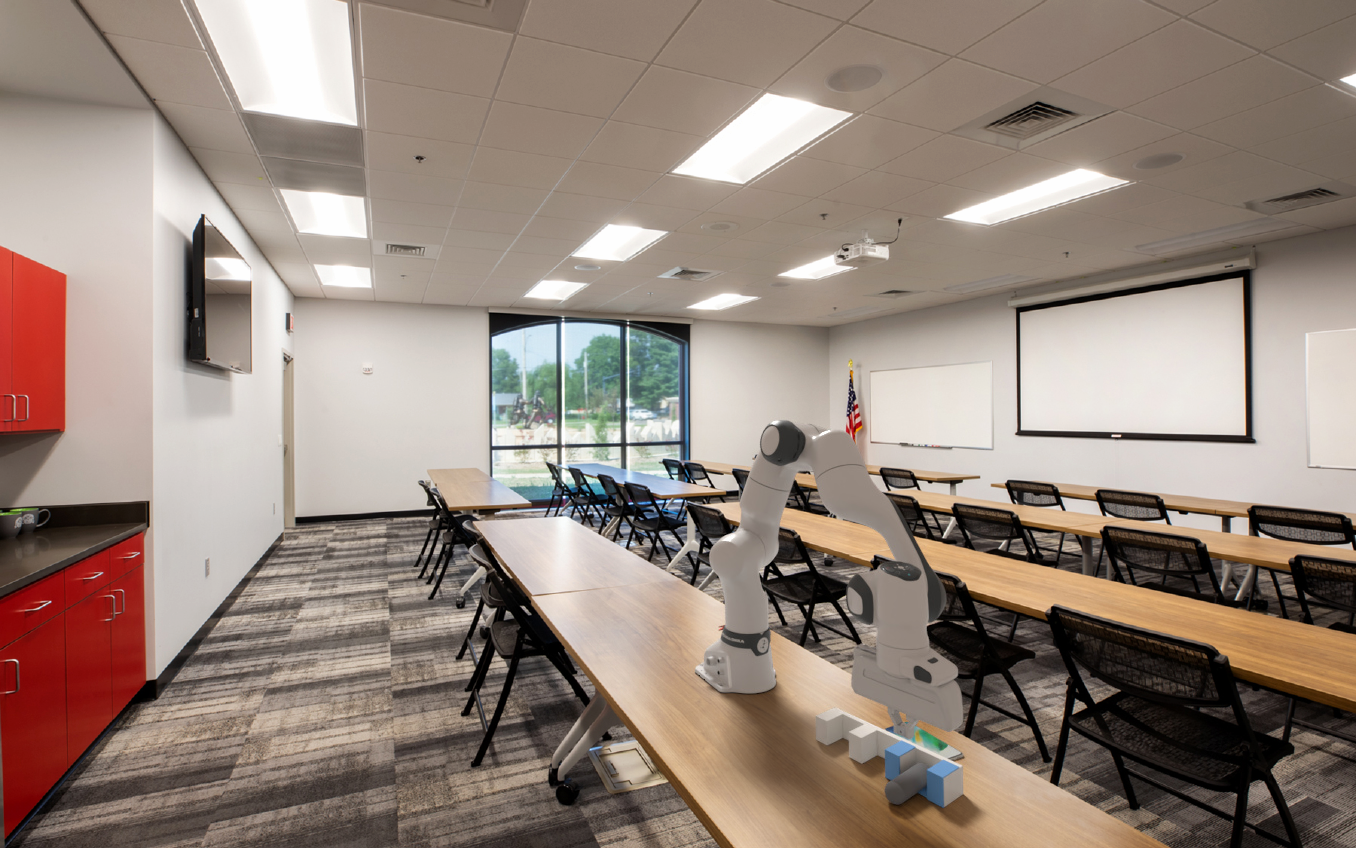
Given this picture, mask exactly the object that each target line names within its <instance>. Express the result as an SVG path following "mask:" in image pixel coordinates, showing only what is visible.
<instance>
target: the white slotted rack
mask: <svg viewBox="0 0 1356 848" xmlns="http://www.w3.org/2000/svg"><path fill="white" fill-rule="evenodd" d="M841 739H844V740H846V741H848V756H849V758H850V759H852V760H854V761H856V762H857V763H859V764H863V763H866V762H868V761H870V760H871V759H873V758H875V757H877V756H879V757H881V758H883V759H884V776H885V778H886V779H887V780H890V781H891V780H893V779H894V778H896V777H897V776H899V775H900V774H902V773H903V772H905V771H906V770H908V769H909V768H911V767H912V766H914V765H915V764H918V763H922V764H925V765H927V766H928V767H929V769H927V786H926V787H925V788H923V789H922V790H920V791H919V792H917V793H916V794H919V795H921V796H923V797H925V798H926V800H928V801H929V802H932V803H933V804H935V805H937V806H939V807H940V808H943V809H944V808H945V807H947V806H948V805H950V804H951V803H953V802H954V801H955V800H957V799H958V798H960V797H961V796H962V795H964V766H963V765H962V764H960V763H959V762H955V760H949V759H947V758H945V757H943V756H941V755H938V754H936V753H934V752H932V751H930V750H927V749H925V748H923V747H921V746H919V745H917V744H914V743H912V742H910V741H908V740H906V739H903V738H901V737H899V736H897V735H895V734H892V733H890V732H888V731H886V730H885V728H881V727H879V726H877V725H875V724H873V723H870V722H868V721H866V720H864V719H862V718H860V717H857V716H855V715H853V714H850V713H848V712H846V711H845V710H842V709H840V708H838V707H832V708H830V709H828V710H826V711H825V710H824V711H823V712H821V713H818V714H817V715H815V740H816V741H818V742H820V743H821V744H823V745H825V746H829V745H832V744H833V743H836V742H838V741H839V740H841Z"/></svg>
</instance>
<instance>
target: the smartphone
mask: <svg viewBox="0 0 1356 848" xmlns="http://www.w3.org/2000/svg"><path fill="white" fill-rule="evenodd" d="M903 722H904V723H906V724H908V722H909V721H903ZM884 730H886V731H888V732H890V733H892V734H895V735H897V736H899V737H901V738H903V739H906V740H908V741H910V742H912V743H914V744H917V745H919V746H921V747H923V748H925V749H927V750H930V751H932V752H934V753H936V754H938V755H941V756H943V757H945V758H947V759H949V760H952V761H956V760H959V759H962V758H964V753H963V752H962V751H961V750H959V749H957V748H955V747H953V746H952V745H950V744H948V743H947V742H945V741H943V740H942V739H940V738H938V737H936V736H935V735H933V734H931V733H929V732H928V731H926V730H924V729H923V728H921V727H919V726H918V725H916V726H915V727H914V737H913V738H911V739H907V738H905V737H903V736H901V735H898V734H896V733H894V725H891V726H887V727H884Z"/></svg>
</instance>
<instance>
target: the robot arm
mask: <svg viewBox="0 0 1356 848" xmlns="http://www.w3.org/2000/svg"><path fill="white" fill-rule="evenodd" d="M759 439H760V441H759V448H760V449H759V450H758V452H757V455H756V457H755V459H754V461H753V463H752V465H751V468H750V470H749V473H748V477H747V478H746V481H745V485H744V488H743V491H742V494H741V496H740V500H739V508H740V512H741V514H740V522H739V526H738V527H737V529H736V531H734V532H731V533H728V534H726V535H724V536H722V537H721V538H720V539H718V540H717V541H716V542H715V543H714V544H713V546H711V548H710V551H709V557H708V559H709V560H708V561H709V565H710V567H711V569H712V570H713V572H714V573H715V574H716V575H717V576H718V578H719V582H720V585H721V588H722V591H723V597H724V621H725V622H724V624H723V625H719V626H718V628H719V629H718V632H720V631H721V635H720V638H718V639H717V640H716V641H714V642H713V643H711V644H710V645H708V647H707V648H706V649H705V651H704V655H703V662H701V663H700V664H697V665H696V666H695V668H694V672H695V673H696V674H697V675H698V676H699V675H700V676H699V677H700V678H702V679H703V680H704V679H705V682H707V683H708V684H709V685H710V686H711V687H713V688H714V689H715V690H717V691H718V692H720V693H738V694H739V693H740V694H757V693H763V692H764V693H765V692H767V691H769V690H772V689H773V688H774V687H775V686H776V685H777V679H776V674H777V673H776V668H774V661H773V654H772V647H771V640H772V639H771V638H772V637H771V635H772V631H771V627H770V625H769V597H768V594H767V592H765V591H764V589H763V586H762V582H761V578H760V570H761V569H762V568H764V567H766V566H768V565H769V564H770V563H771V562H773V560H774V559H775V557H776V556H777V555H778V552H779V550H780V549H779V548H780V542H779V532H780V527H781V520H782V518H783V513H784V510H785V507H786V505H787V502H788V498H789V497H790V493H791V491H792V488H793V484H794V481H795V478H796V475H797V473H799V472H800V471H801V472H803V471H805V472H811V473H813V476H814V481H815V484H816V488H817V489H816V490H817V492H818V495H819V498H820V501H821V502H822V504H823V506H824V507H825V509H827V511H829V512H830V514H833V515H834V516H836V517H838V518H839V519H842V520H846V521H850V522H853V523H857V524H860V525H862V526H865V527H868V528H870V529H872V530H874V531H875V532H877V533H879V535H881V537H882V538H884V541H885V542H886V544H887V547H888V548H889V551H890V552H891V554H892V557H893V558H894V561H893V560H890V561H886V562H882V563H881V564H879V565H878V566H877V569H874V570H870V571H863V572H859V573H855V574H854V575H853V576H852V577H851V578H850V580H849V582H848V583H847V586H846V588H845V601H846V607H847V610H848V613H850V614H851V615H852V616H853V617H854V619H856V620H857V621H859V623H861V624H865V625H867V626H874V627H875V628H876V635H875V636H876V637H875V646H876V647H873V646H871V645H868V644H866V643H860V644H857V645H855V646H854V648H853V652H852V653H853V663H852V668H851V669H852V670H851V679H850V681H851V683H850V684H851V688H852V690H853V692H854V694H856V695H858V696H861V697H863V698H866V699H868V700H871V701H872V702H875V703H878V704H879V705H882V706H884V707H887V714H888V716H889V718H890V720H891V722H892V724H893V726H894V733H896V734H898V735H901V736H903V737H905V738H907V739H911V738H913V737H914V727H915V726H917V724H918V723H919V721H921V722H923V723H925V724H928V725H931V726H932V727H935V728H937V729H940V730H942V731H945V732H947V733H950V732H952V731H954V730H956V729H958V728H959V727H960V726H961V725H963V723H964V722H963V721H964V708H963V697H962V691H961V688H960V686H959V683H958V682H957V681H956V680H954V679H956V678H957V677H958V676H959V668H958V667H957V665H955V663H953V662H952V661H950V660H949V659H947V658H945V657H944V656H942V654H940V653H938V652H937V651H936V650H934V649H933V648H932V647H930V639H929V638H930V637H929V636H928V631H927V626H928V623H929V624H930V623H933V622H935V621H936V620H938V618H939V617H940V616H941V614H942V613H943V611H944V609H945V608H946V604H947V593H946V592H947V591H946V589H945V586H944V584H943V582H942V580H941V579H940V578H939V576H938V575H937V574H936V573H937V572H935V571H934V569H933V568H932V567H931V565H930V564H929V562H928V560H927V558H926V557H925V554H924V553H923V550H922V549H921V547H920V545H919V544H918V542H917V539H916V538H915V535H914V534H913V532H912V530H911V529H910V526H909V525H908V523H907V521H906V519H905V517H904V515H903V513H902V512H901V510H900V508H899V507H898V505H897V504H896V502H895V501H894V500H893V498H892V497H889V496H887V495H886V494H885V493H884V492H882V490H880V488H878V486H877V485H876V484H875V482H874V481H873V480H872V478H871V475H870V474H869V472H868V468H867V465H866V463H865V460H864V458H863V455H862V453H861V452H860V449H859V447H858V445H857V443H856V442H855V440H854V439H853V437H852V436H851V434H850V433H848V432H846V431H844V430H841V429H837V428H836V429H831V428H830V429H827V428H825V427H823V426H820V425H817V424H812V423H804V422H803V423H801V422H796V421H794V422H793V421H790V420H787V419H786V420H785V419H781V420H780V419H779V420H773V421H771V422H769V423H768V424H767V425H766V426H765V428H764V430H763V431H762V433H761V436H760V438H759ZM900 713H901V714H903V715H905V721H907V722H908V724H906V723H904V722H905V721H903V719H902V716H901V714H900Z"/></svg>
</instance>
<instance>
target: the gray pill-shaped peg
mask: <svg viewBox="0 0 1356 848" xmlns="http://www.w3.org/2000/svg"><path fill="white" fill-rule="evenodd" d="M927 769H929V767H928V766H927V765H925V764H922V763H918V764H915V765H914V766H912V767H911V768H909V769H908V770H906V771H905V772H903V773H902V774H900V775H899V776H897V777H896V778H894V779H893V780H890V781H888V782H887V783H886V784H885V786H884V794H885V797H886V799H887V801H888V802H889V803H891V804H894V805H896V806H897V805H902V804H903V803H904V802H906V801H908V800H909V799H911V798H912V797H913V796H915V795H916V794H918V793H917V792H919V791H920V790H922V789H923V788H925V787H926V786H927Z"/></svg>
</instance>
